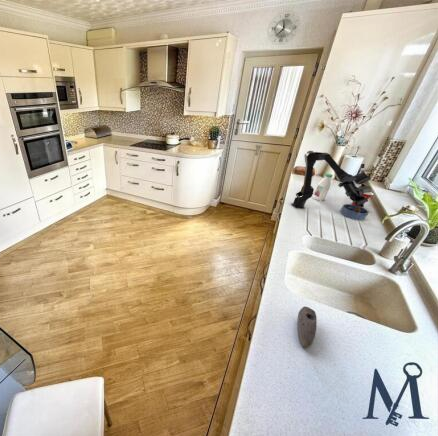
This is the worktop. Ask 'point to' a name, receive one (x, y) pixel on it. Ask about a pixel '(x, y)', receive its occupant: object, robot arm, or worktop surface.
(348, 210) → the bowl
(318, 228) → the worktop surface
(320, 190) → the milk bottle
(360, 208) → the muddler
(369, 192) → the plastic cup
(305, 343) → the perforated stone tool
